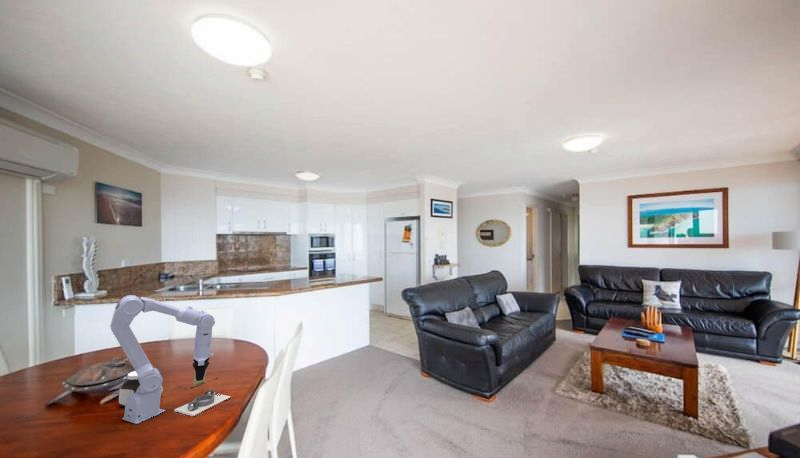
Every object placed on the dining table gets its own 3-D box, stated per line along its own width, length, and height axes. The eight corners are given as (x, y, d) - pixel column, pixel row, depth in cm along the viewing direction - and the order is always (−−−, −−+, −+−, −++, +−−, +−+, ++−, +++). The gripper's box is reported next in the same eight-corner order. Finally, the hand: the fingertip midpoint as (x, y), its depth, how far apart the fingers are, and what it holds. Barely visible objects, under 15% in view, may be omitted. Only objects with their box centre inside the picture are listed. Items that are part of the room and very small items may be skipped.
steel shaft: (193, 406, 117) (194, 400, 117) (199, 407, 117) (200, 401, 117) (185, 410, 114) (186, 404, 114) (192, 411, 113) (193, 405, 114)
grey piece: (211, 398, 124) (212, 392, 124) (203, 398, 124) (204, 393, 124) (214, 394, 127) (215, 389, 128) (207, 395, 127) (207, 389, 127)
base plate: (193, 417, 111) (193, 410, 111) (173, 412, 114) (174, 405, 115) (230, 399, 126) (231, 392, 126) (212, 394, 130) (213, 388, 130)
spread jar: (114, 409, 115) (117, 377, 116) (131, 396, 126) (134, 366, 127) (151, 406, 118) (155, 375, 119) (165, 393, 129) (168, 365, 130)
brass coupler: (202, 385, 122) (203, 368, 123) (191, 385, 122) (192, 368, 122) (206, 381, 126) (208, 364, 127) (196, 381, 126) (197, 364, 126)
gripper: (214, 347, 121) (211, 383, 120) (214, 338, 134) (211, 370, 132) (193, 349, 118) (189, 386, 116) (194, 340, 130) (191, 373, 129)
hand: (199, 378), depth 124 cm, fingers closed on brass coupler, 4 cm apart
